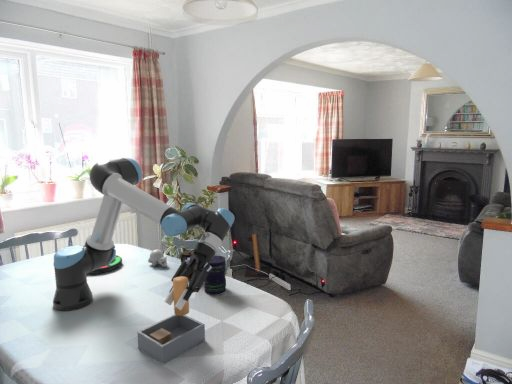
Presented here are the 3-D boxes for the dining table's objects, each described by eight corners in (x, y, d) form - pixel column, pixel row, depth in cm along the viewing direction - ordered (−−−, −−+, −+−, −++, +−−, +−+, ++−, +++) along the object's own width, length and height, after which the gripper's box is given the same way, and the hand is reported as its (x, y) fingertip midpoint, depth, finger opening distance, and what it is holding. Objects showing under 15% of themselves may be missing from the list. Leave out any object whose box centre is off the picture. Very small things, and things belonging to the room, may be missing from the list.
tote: (163, 364, 117) (162, 346, 116) (138, 348, 125) (137, 331, 125) (204, 340, 130) (204, 324, 129) (180, 327, 139) (179, 312, 138)
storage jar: (208, 296, 164) (207, 264, 161) (201, 288, 172) (200, 257, 170) (229, 292, 168) (229, 260, 166) (221, 284, 177) (220, 254, 174)
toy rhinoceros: (159, 274, 197) (162, 261, 193) (145, 261, 202) (148, 248, 199) (170, 269, 202) (173, 257, 199) (156, 257, 208) (159, 245, 205)
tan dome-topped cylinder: (174, 316, 127) (173, 282, 125) (174, 309, 131) (172, 277, 129) (189, 314, 128) (188, 281, 126) (188, 307, 133) (187, 275, 131)
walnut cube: (159, 353, 121) (158, 339, 120) (150, 348, 124) (149, 334, 123) (172, 347, 124) (171, 333, 124) (162, 341, 128) (162, 328, 127)
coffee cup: (194, 281, 180) (193, 256, 178) (178, 280, 182) (177, 254, 179) (200, 275, 188) (199, 250, 186) (185, 273, 190) (184, 249, 188)
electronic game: (108, 257, 216) (108, 249, 215) (130, 266, 202) (130, 257, 201) (68, 268, 199) (67, 259, 198) (89, 279, 184) (88, 269, 183)
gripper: (185, 237, 139) (149, 293, 129) (219, 246, 128) (183, 309, 118) (196, 247, 144) (163, 302, 134) (230, 257, 133) (196, 318, 123)
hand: (172, 305), depth 126 cm, fingers closed on tan dome-topped cylinder, 5 cm apart
